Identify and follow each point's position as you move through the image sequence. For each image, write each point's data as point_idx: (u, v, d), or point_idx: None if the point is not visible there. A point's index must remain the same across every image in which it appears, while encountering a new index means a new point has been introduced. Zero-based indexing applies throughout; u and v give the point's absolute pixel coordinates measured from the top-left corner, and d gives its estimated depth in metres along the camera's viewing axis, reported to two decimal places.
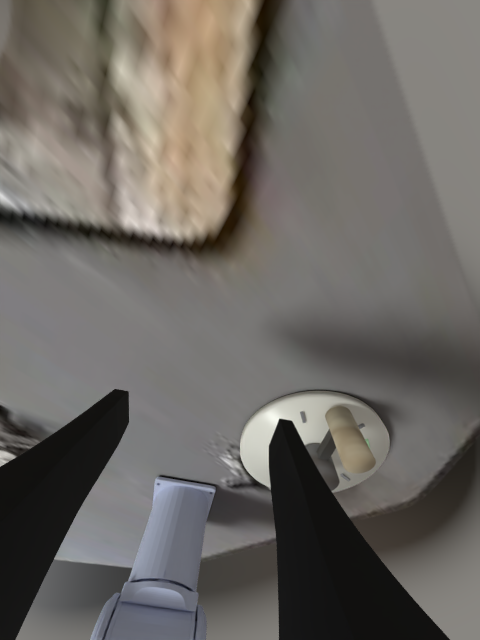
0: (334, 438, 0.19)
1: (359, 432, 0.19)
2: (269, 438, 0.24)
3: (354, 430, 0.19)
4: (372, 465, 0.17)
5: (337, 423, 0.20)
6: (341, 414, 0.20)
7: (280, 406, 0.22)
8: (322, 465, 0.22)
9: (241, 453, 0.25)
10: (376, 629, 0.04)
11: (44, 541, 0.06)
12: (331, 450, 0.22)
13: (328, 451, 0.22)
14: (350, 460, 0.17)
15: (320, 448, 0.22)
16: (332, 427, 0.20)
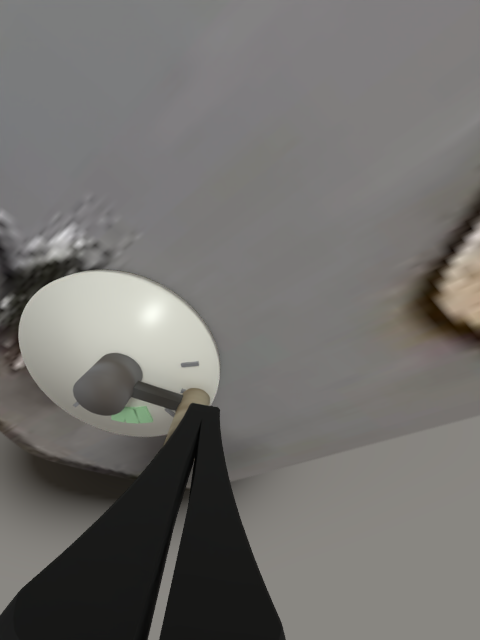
0: None
1: None
2: (147, 321, 0.16)
3: None
4: None
5: None
6: None
7: (208, 341, 0.17)
8: (129, 395, 0.16)
9: (107, 275, 0.15)
10: (196, 605, 0.04)
11: (164, 558, 0.07)
12: (151, 400, 0.17)
13: (148, 397, 0.17)
14: None
15: (147, 386, 0.17)
16: None
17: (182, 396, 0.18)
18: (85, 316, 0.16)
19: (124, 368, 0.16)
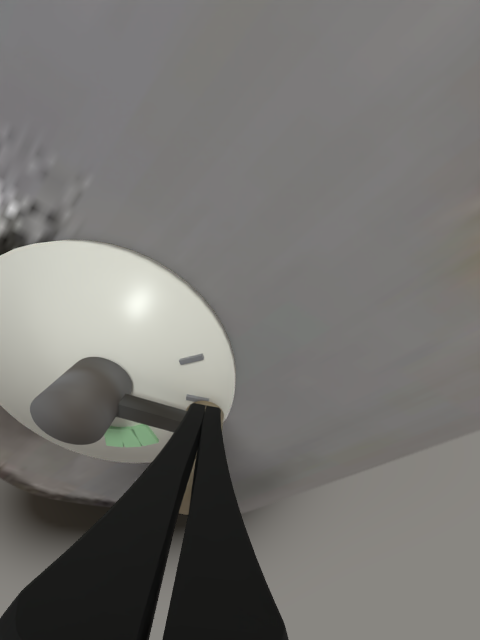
0: None
1: None
2: (121, 306, 0.12)
3: None
4: (182, 512, 0.10)
5: None
6: (222, 427, 0.13)
7: (211, 322, 0.12)
8: (111, 416, 0.12)
9: (52, 245, 0.10)
10: (198, 607, 0.04)
11: (165, 558, 0.07)
12: (144, 420, 0.12)
13: (140, 417, 0.12)
14: None
15: (138, 401, 0.13)
16: None
17: None
18: (40, 311, 0.12)
19: (104, 377, 0.12)
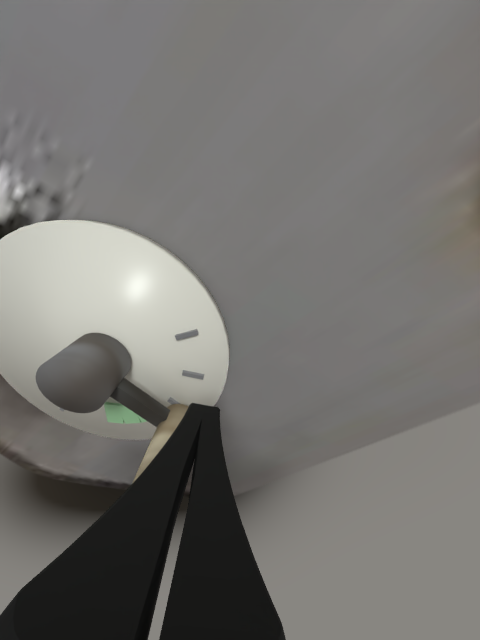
0: None
1: None
2: (120, 282, 0.12)
3: None
4: None
5: None
6: None
7: (205, 298, 0.12)
8: (109, 396, 0.13)
9: (55, 224, 0.11)
10: (196, 606, 0.04)
11: (164, 558, 0.07)
12: (132, 407, 0.14)
13: (130, 403, 0.14)
14: None
15: (133, 389, 0.14)
16: None
17: (169, 411, 0.15)
18: (44, 289, 0.13)
19: (116, 360, 0.13)
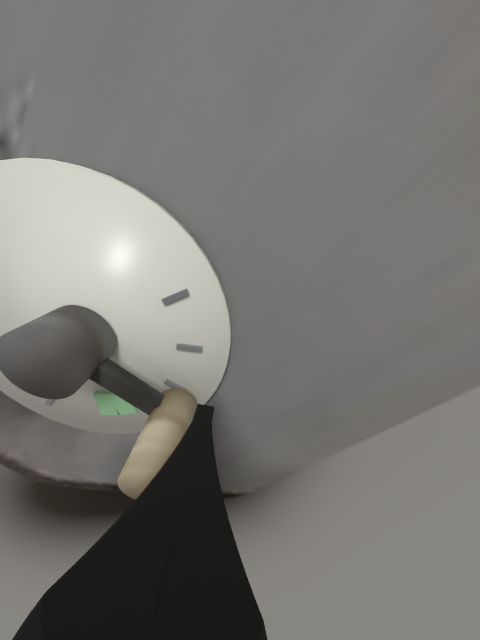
0: (174, 429, 0.11)
1: None
2: (88, 236, 0.10)
3: None
4: (134, 497, 0.10)
5: (189, 424, 0.12)
6: None
7: (191, 245, 0.10)
8: (87, 377, 0.10)
9: None
10: (177, 604, 0.04)
11: None
12: (118, 392, 0.12)
13: (115, 386, 0.11)
14: None
15: (118, 370, 0.12)
16: (183, 416, 0.12)
17: (163, 396, 0.12)
18: (2, 255, 0.11)
19: (94, 334, 0.11)
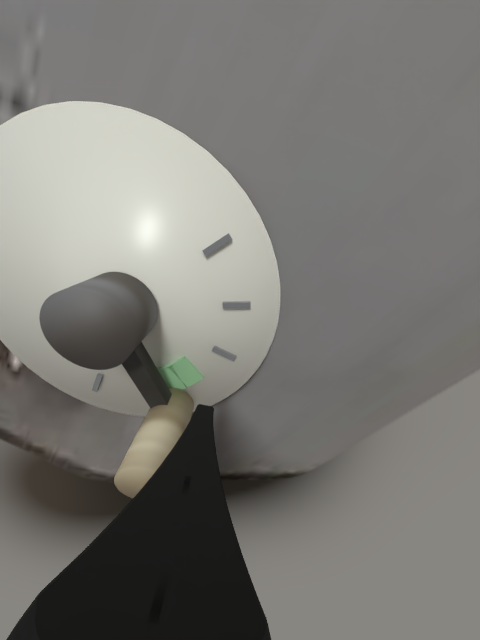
0: (179, 435, 0.11)
1: None
2: (118, 188, 0.09)
3: None
4: (122, 489, 0.10)
5: None
6: None
7: (230, 179, 0.09)
8: None
9: (19, 120, 0.08)
10: (181, 603, 0.04)
11: None
12: (137, 378, 0.11)
13: (137, 372, 0.11)
14: None
15: (146, 358, 0.11)
16: (185, 423, 0.12)
17: (171, 395, 0.13)
18: (33, 227, 0.10)
19: (148, 320, 0.10)
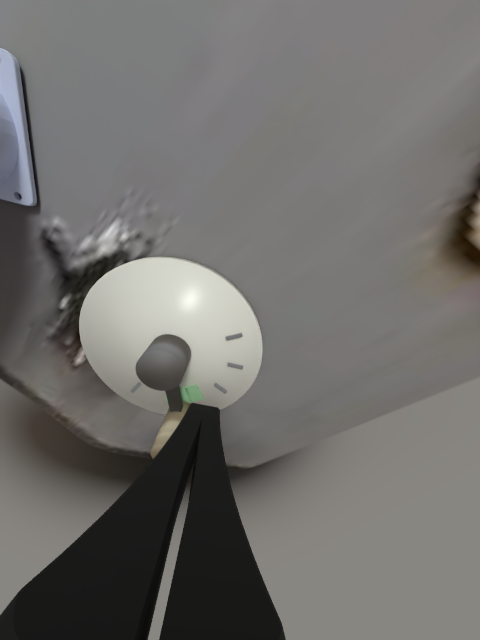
0: None
1: None
2: (191, 299, 0.18)
3: None
4: (153, 455, 0.18)
5: None
6: None
7: (249, 311, 0.18)
8: None
9: (153, 260, 0.16)
10: (196, 605, 0.04)
11: (164, 558, 0.07)
12: (169, 394, 0.19)
13: (171, 392, 0.19)
14: None
15: None
16: None
17: (183, 406, 0.21)
18: (136, 303, 0.18)
19: None
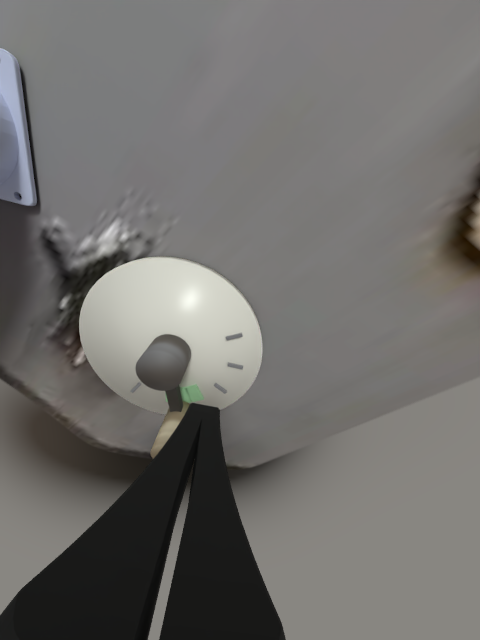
0: None
1: None
2: (191, 299, 0.18)
3: None
4: (153, 455, 0.18)
5: None
6: None
7: (249, 311, 0.18)
8: None
9: (153, 260, 0.16)
10: (196, 605, 0.04)
11: (164, 558, 0.07)
12: (169, 394, 0.19)
13: (171, 392, 0.19)
14: None
15: None
16: None
17: (183, 406, 0.21)
18: (136, 303, 0.18)
19: None
